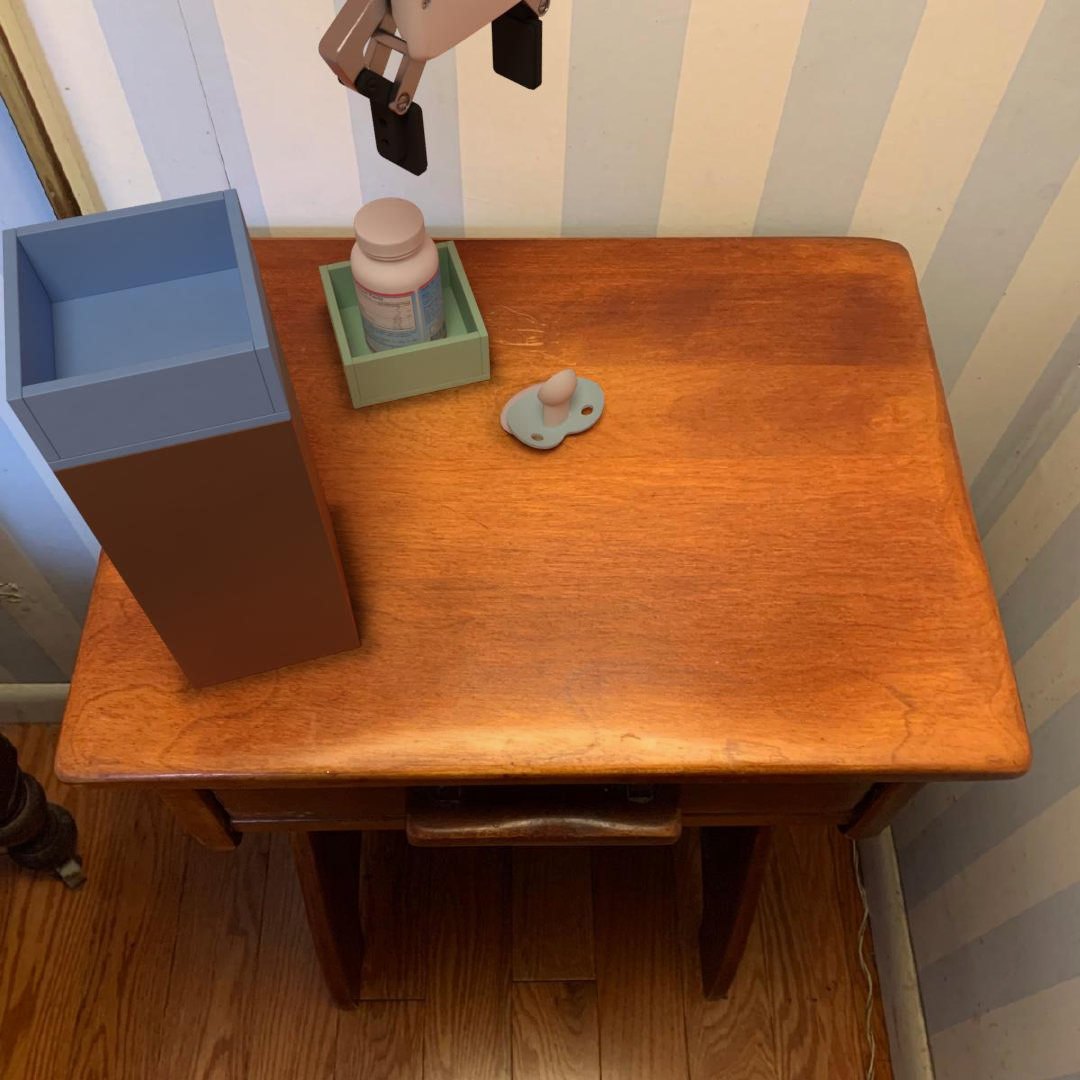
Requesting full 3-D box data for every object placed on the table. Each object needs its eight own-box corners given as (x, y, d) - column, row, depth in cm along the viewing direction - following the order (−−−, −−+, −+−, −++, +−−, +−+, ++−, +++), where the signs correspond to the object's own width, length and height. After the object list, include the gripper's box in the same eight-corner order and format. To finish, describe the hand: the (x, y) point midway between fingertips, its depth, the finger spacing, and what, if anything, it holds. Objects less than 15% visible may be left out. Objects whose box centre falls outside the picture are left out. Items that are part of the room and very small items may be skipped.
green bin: (354, 409, 74) (344, 365, 70) (328, 311, 79) (318, 266, 75) (490, 379, 76) (488, 335, 72) (456, 285, 81) (453, 239, 77)
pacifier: (482, 418, 74) (530, 471, 71) (476, 355, 69) (528, 410, 66) (564, 374, 76) (613, 424, 73) (565, 311, 71) (618, 362, 68)
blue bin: (194, 690, 62) (5, 400, 40) (176, 552, 67) (1, 229, 45) (360, 647, 64) (269, 346, 41) (331, 516, 69) (235, 187, 47)
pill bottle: (418, 299, 79) (403, 177, 70) (462, 346, 77) (453, 226, 67) (350, 333, 77) (325, 212, 68) (393, 382, 75) (373, 263, 65)
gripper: (501, -326, 48) (508, 27, 62) (221, -196, 40) (302, 170, 55) (632, -284, 45) (608, 74, 60) (358, -138, 38) (406, 230, 52)
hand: (462, 120), depth 57 cm, fingers open, 9 cm apart
